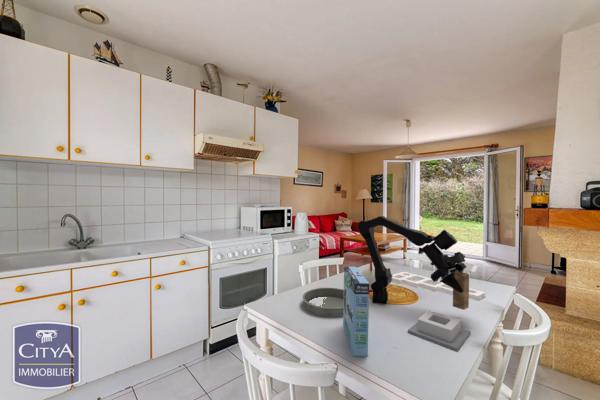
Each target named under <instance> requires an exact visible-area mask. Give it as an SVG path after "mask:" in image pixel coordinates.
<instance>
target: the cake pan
mask: <svg viewBox="0 0 600 400" xmlns="http://www.w3.org/2000/svg"><path fill="white" fill-rule="evenodd" d="M318 297H327V298H326V299H325V298H324V299H325V300H324V299H323V304H322V307H321V305H320V306H316V305H315V304H312V303H309V301H310V300H312V299H314V298H318ZM302 300H303V302H304V303H305V306H306V308H307V310H309V311H310V313H311V312H312V313H313V314H315V315H318V316H319V315H320V316H325V317H343V302H344V288H343V289H342V288H337V287H318V288H313V289H310V290H307V291H305V292H304V293H303V294H302ZM324 303H325V304H324Z"/></svg>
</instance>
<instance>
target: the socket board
mask: <svg viewBox="0 0 600 400" xmlns="http://www.w3.org/2000/svg"><path fill="white" fill-rule="evenodd" d="M471 333H472V332H471V330H469V329H465V328H462V320H461V319H459V318H456V317H453V316H449V315H445V314H442V313H439V312H436V311H432V310H428V311H427V312H425V313H424V314H423V315H421V316H420V317H419V318H417V322H416V323H415V324H413V325H412V326H410V327H409V329H408V330H407V334H410V335H412V336H416V337H418V338H419V339H423V340H425V341H429V342H431V343H434V344H437V345H439V346H442V347H445V348H447V349H450V350H452V351H453V352H454V351H455V352H458V351H459V350H460V349H461V347H462V346H463V345H464V343H466V340H467V339H468V338H469V337H470V335H471Z"/></svg>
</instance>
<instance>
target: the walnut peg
mask: <svg viewBox="0 0 600 400" xmlns="http://www.w3.org/2000/svg"><path fill="white" fill-rule="evenodd" d="M454 278H455V279H456V281H457V282H458V284H459V285H460V287H461V288H462V290H463V292H462V293H460V292H458V291H457V290H455V289H453V295H452V307H454V308H457V309H460V310H463V311H465V310H466V309H468V308H469V303H470V298H469V288H470V273H467V272H463V273H462V272H455V273H454Z"/></svg>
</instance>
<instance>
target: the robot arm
mask: <svg viewBox="0 0 600 400" xmlns="http://www.w3.org/2000/svg"><path fill="white" fill-rule="evenodd" d="M378 226H382V227H384V228H386V229H389V230H391V231H393V232H394V233H396V234H399V235H401V236H403V237H404V238H406V239H407V240H408V242H410V243H412V244H413V245H415V246H417V247H418V255H423V254H424V255H425V256H426V257H427V258H428V259H429V260H430V263H429V264H430V266H434V267H435V268H436V270H435V271H434V272H432V273H430V278H431V279H432V280H433V282H436V281H438V280H439V279H440V280H439V281H440V282H442V283H444V284H446V285H448V286H450V287H452V288H453V289H455V290H457V291H458V292H460V293H462V292H463V290H462V288H461V287H460V285H459V284H458V282H457V281H456V279H455V278H454V273H455V272H462V273H464V271H465V269H467V265H466V264H465V262H466V259H465V258H466V255H465V254H463V253H462V252H461V251H457V252H454V255H451V256H449V255H448V254H444V253H443V252H442V251H441V250H444V251H447V250H449V249H450V248H451V247H453V246H455V245H456V244H457V243H458V240H457V239H456V237H455V236H453V234H451V233H449V231H447V230H446V229H443V230H442V231H440V233H439V234H437V235H436V236H434V235H429V234H428V233H426V232H425V231H422V230H419V229H414V228H409V227H407V226H405V225H402V224H401V223H398V222H397V221H394V220H392V219H389V218H387V217H386V216H384V215H380V216H377V217H375V218H372V219H365V220H364V219H363V220H361V221H359V222H358V223H357V226H356V227H357V230H358V233H359V234H360V235H361V236H362V237H361V238H363V239H364V241H365V244H366V247H367V250H368V252H369V255H370V258H371V259H370V260H372V266H373V267H374V268H375V282H374V283H373V284H371V288H372V290H373V293H372V299H371V301H372V304H379V305H380V304H381V305H382V304H383V305H387V304H388V301H389V291H387V288H388V286H389V285H390V284H391V282H392V275H393V274H392V273H391V269H390V267H388V268H387V267H386V266H385V265H384V261H383V259H382V255H381V253H380V250H379V247H378V244H377V242H376V238H375V228H376V227H378Z"/></svg>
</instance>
